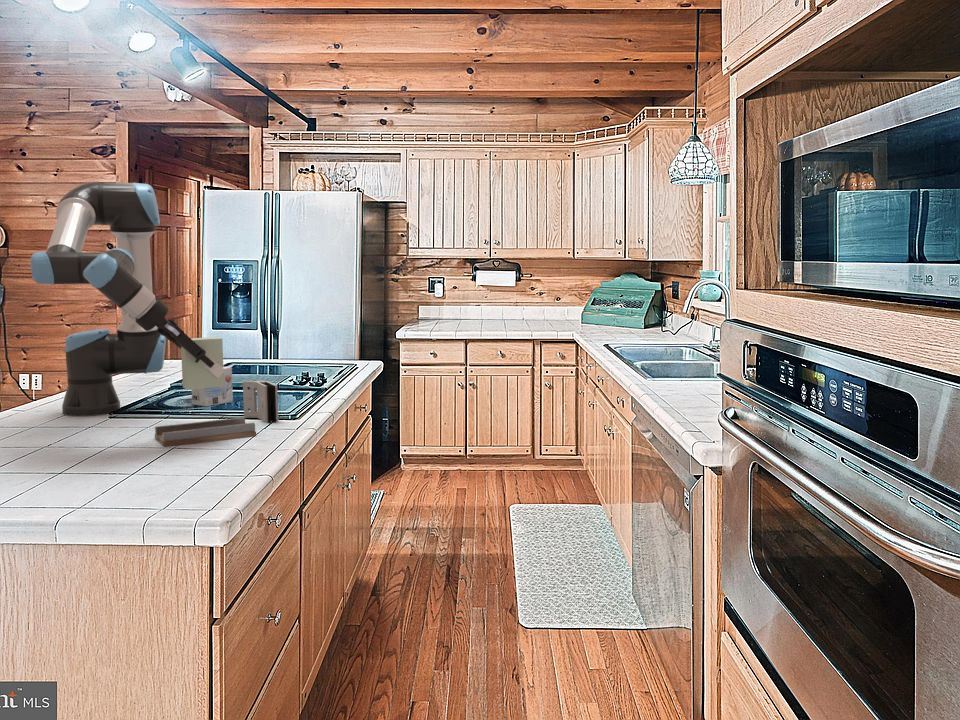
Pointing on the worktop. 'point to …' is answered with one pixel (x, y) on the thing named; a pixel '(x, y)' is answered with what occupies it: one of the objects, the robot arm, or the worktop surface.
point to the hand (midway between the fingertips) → (218, 372)
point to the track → (204, 431)
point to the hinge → (261, 400)
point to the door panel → (196, 372)
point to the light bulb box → (215, 392)
